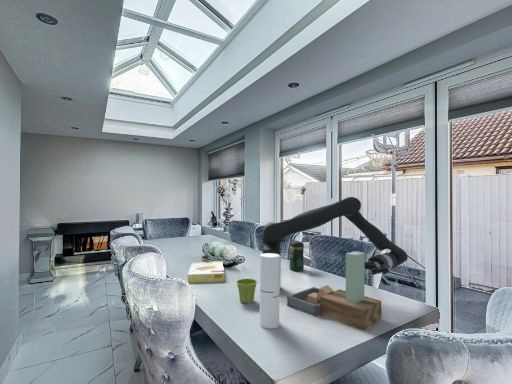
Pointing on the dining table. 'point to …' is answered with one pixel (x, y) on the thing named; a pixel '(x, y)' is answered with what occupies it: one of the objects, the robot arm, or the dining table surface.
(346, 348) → the dining table surface
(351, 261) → the tall sage green panel
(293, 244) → the coffee jar
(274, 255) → the cylindrical container
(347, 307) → the bench
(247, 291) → the plant pot
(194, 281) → the cereal box
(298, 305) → the tray
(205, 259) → the cake pan
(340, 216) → the robot arm
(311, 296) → the tile
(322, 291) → the tile
